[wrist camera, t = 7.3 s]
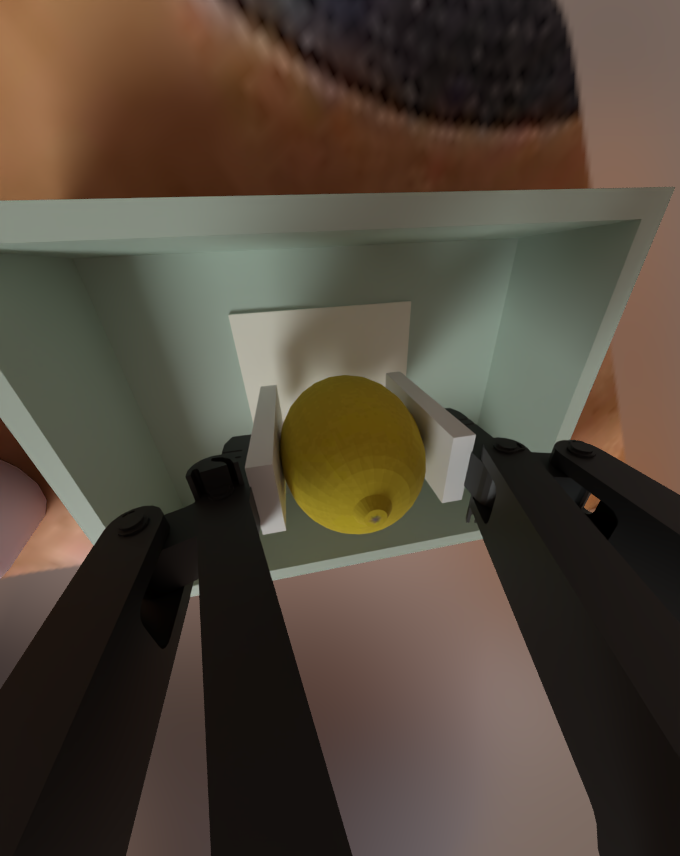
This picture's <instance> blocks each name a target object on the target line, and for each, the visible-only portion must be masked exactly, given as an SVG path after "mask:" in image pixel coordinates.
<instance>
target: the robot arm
mask: <svg viewBox="0 0 680 856" xmlns="http://www.w3.org/2000/svg"><path fill="white" fill-rule="evenodd" d="M385 387H386V388H387V389H388V390H390V391H391V392H392V393H394V394H395V395H396V396H397V397H398V398H399V399H400V400H401V401H402V402H403V404H404V405H405V406H406V408H407V409H408V410H409V412H410V413H411V415H412V416H413V418H414V419H415V421H416V424H417V426H418V429H419V432H420V435H421V438H422V441H423V444H424V448H425V455H426V473H425V479H426V481H427V482H428V484H429V485H430V487H431V488H432V490H433V491H434V492H435V494H436V495H437V497H438V498H439V500H440V501H441V502H442V503H446V502H452V501H458V500H462V496H463V492H464V487H465V488H466V489H467V490H468V491H469V492H470V493H471V497H470V502H469V506H468V510H467V514H466V523H469V522H470V519H471V515H472V514H473V516H474V518H475V520H474V523H477V525H478V528H479V530H480V533H481V535H482V538H483V540H484V543H485V545H486V547H487V550H488V552H489V555H490V557H491V559H492V562H493V565H494V567H495V569H496V572H497V574H498V577H499V579H500V581H501V584H502V586H503V589H504V591H505V594H506V596H507V599H508V601H509V604H510V606H511V608H512V611H513V613H514V616H515V618H516V621H517V623H518V625H519V628H520V630H521V633H522V635H523V638H524V640H525V643H526V645H527V647H528V650H529V652H530V655H531V657H532V660H533V662H534V665H535V667H536V669H537V672H538V674H539V677H540V679H541V682H542V684H543V687H544V689H545V692H546V694H547V696H548V699H549V701H550V704H551V706H552V709H553V711H554V714H555V716H556V718H557V721H558V723H559V726H560V728H561V731H562V733H563V736H564V738H565V740H566V743H567V745H568V748H569V750H570V752H571V755H572V758H573V760H574V762H575V765H576V767H577V770H578V772H579V775H580V777H581V780H582V782H583V784H584V787H585V789H586V792H587V794H588V797H589V799H590V802H591V805H592V808H593V811H594V815H595V819H596V823H597V839H598V851H599V855H600V856H680V495H679V494H677V493H675V492H674V491H672V490H670V489H668V488H667V487H665V486H663V485H662V484H660V483H658V482H656V481H655V480H653V479H651V478H649V477H648V476H646V475H644V474H642V473H641V472H639V471H637V470H635V469H634V468H632V467H630V466H629V465H627V464H625V463H623V462H622V461H620V460H618V459H617V458H615V457H613V456H611V455H610V454H608V453H606V452H604V451H603V450H601V449H599V448H597V447H595V446H593V445H590V444H587V443H584V442H582V441H578V440H577V441H576V440H561V441H558V442H556V443H555V445H554V447H553V449H552V452H551V453H540V452H531V451H530V450H529V449H528V448H527V447H526V446H524V445H523V444H522V443H519V442H517V441H515V440H511V439H508V438H500V437H496V438H493V437H492V436H491V435H489V434H488V433H487V432H486V431H484V430H483V429H482V428H480V427H479V426H478V425H477V424H474V422H473V421H471V420H470V419H468V417H466V416H465V415H464V414H462V413H461V412H459V411H457V410H454V409H452V408H443V407H442V406H441V405H440V404H439V403H437V402H436V401H435V400H434V399H433V398H431V397H430V396H429V395H428V394H427V393H425V392H424V391H423V390H422V389H421V388H419V387H418V386H417V385H416V384H415V383H413V382H412V381H411V380H410V379H409V378H407V377H406V376H405V375H404V374H403V373H401V372H390V373H386V385H385ZM282 426H283V419H282V413H281V408H280V402H279V396H278V390H277V385H270V386H261V388H260V393H259V398H258V403H257V408H256V413H255V418H254V423H253V428H252V433H251V434H250V435H242V436H234V437H232V438H231V439H230V440H228V441H227V442H226V443H225V444H224V447H223V450H222V454H221V455H215V456H210V457H208V458H205V459H202V460H200V461H199V462H197V463H195V464H194V465H192V466H191V467H190V469H189V470H188V471H187V473H186V476H185V477H186V480H187V482H188V485H189V487H190V489H191V492H192V494H193V497H194V499H195V502H194V503H192V504H191V505H188V506H186V507H184V508H181V509H179V510H176V511H173V512H171V513H168V514H165V515H164V513H163V512H162V510H161V509H160V508H159V507H156V506H153V505H151V506H141V507H138V508H135V509H132V510H130V511H128V512H125V513H124V514H121V515H120V516H119V517H117V518H116V519H115V520H113V521H112V522H111V523H110V524H109V525H108V526H107V527H106V528H105V529H104V531H103V532H102V534H101V535H100V537H99V538H98V540H97V542H96V543H95V545H94V546H93V548H92V549H91V551H90V552H89V554H88V555H87V557H86V558H85V560H84V562H83V563H82V565H81V566H80V568H79V569H78V571H77V572H76V574H75V575H74V577H73V578H72V580H71V581H70V583H69V585H68V586H67V588H66V589H65V591H64V592H63V594H62V595H61V597H60V598H59V600H58V601H57V603H56V605H55V606H54V608H53V609H52V611H51V612H50V614H49V615H48V617H47V618H46V620H45V621H44V623H43V625H42V626H41V628H40V629H39V631H38V632H37V634H36V635H35V637H34V639H33V640H32V642H31V643H30V645H29V646H28V648H27V649H26V651H25V652H24V654H23V655H22V657H21V659H20V660H19V661H18V663H17V665H16V666H15V668H14V669H13V671H12V672H11V674H10V675H9V677H8V678H7V680H6V681H5V683H4V684H3V686H2V688H1V689H0V856H126V853H127V849H128V845H129V841H130V837H131V833H132V828H133V825H134V821H135V817H136V812H137V809H138V805H139V801H140V797H141V792H142V788H143V784H144V780H145V776H146V772H147V768H148V764H149V760H150V756H151V752H152V748H153V744H154V740H155V736H156V732H157V728H158V724H159V720H160V716H161V712H162V708H163V704H164V699H165V696H166V692H167V688H168V684H169V680H170V676H171V671H172V668H173V663H174V660H175V655H176V651H177V647H178V643H179V639H180V635H181V631H182V627H183V623H184V619H185V615H186V611H187V607H188V603H189V599H190V595H191V591H192V587H193V583H194V581H195V580H198V579H199V598H200V620H201V642H202V663H203V664H202V665H203V684H204V685H203V687H204V709H205V729H206V753H207V774H208V797H209V818H210V841H211V856H352V853H351V849H350V846H349V842H348V840H347V836H346V832H345V829H344V826H343V822H342V819H341V815H340V812H339V808H338V805H337V801H336V798H335V794H334V791H333V787H332V784H331V781H330V777H329V774H328V771H327V767H326V763H325V760H324V756H323V753H322V750H321V747H320V743H319V739H318V736H317V732H316V729H315V726H314V722H313V719H312V715H311V712H310V708H309V705H308V701H307V698H306V695H305V691H304V688H303V684H302V681H301V677H300V674H299V671H298V667H297V664H296V660H295V657H294V653H293V650H292V646H291V643H290V640H289V636H288V633H287V629H286V626H285V622H284V619H283V615H282V612H281V608H280V605H279V602H278V599H277V595H276V591H275V588H274V585H273V581H272V577H271V574H270V571H269V567H268V564H267V560H266V557H265V553H264V550H263V547H262V543H261V540H260V536H259V532H260V526H261V530H262V534H263V535H265V534H270V533H276V532H282V531H286V480H285V477H284V474H283V469H282V463H281V457H280V439H281V431H282ZM590 494H593V495H594V496H595V497H597V498H598V499H600V500H601V501H600V502H599V504H598V506H597V508H596V510H595V511H594V512H593V513H592V512H589V511H588V510H586V509H585V508H584V506H585V504H586V502H587V500H588V498H589V496H590Z"/></svg>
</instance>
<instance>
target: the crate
mask: <svg viewBox="0 0 680 856" xmlns="http://www.w3.org/2000/svg"><path fill="white" fill-rule="evenodd" d="M674 189H675V187H649V188H648V187H646V188H601V189H599V188H597V189H549V190H500V191H452V192H403V193H355V194H306V195H258V196H209V197H161V198H112V199H64V200H15V201H0V418H1V419H2V421H3V422H4V423H5V425H6V426H7V427H8V429H9V430H10V432H11V433H12V434H13V436H14V437H15V438H16V440H17V441H18V442H19V444H20V445H21V447H22V448H23V449H24V451H25V452H26V453H27V455H28V456H29V458H30V459H31V460H32V462H33V463H34V464H35V466H36V467H37V469H38V470H39V471H40V473H41V474H42V475H43V477H44V478H45V480H46V481H47V482H48V484H49V485H50V486H51V488H52V489H53V491H54V492H55V493H56V495H57V496H58V497H59V499H60V500H61V501H62V503H63V504H64V506H65V507H66V508H67V510H68V511H69V512H70V514H71V515H72V517H73V518H74V519H75V521H76V522H77V523H78V525H79V526H80V528H81V529H82V530H83V532H84V533H85V534H86V536H87V537H88V539H89V540H90V541H91V543H92V544H93V545H95V543H96V542H97V540H98V538H99V537H100V535H101V534H102V532H103V531H104V529H105V528H106V527H107V526H108V525H109V524H110V523H111V522H112V521H113V520H115V519H116V518H117V517H119V516H120V515H121V514H124V513H125V512H128V511H130V510H132V509H135V508H138V507H141V506H151V505H153V506H156V507H159V508H160V509H161V510H162V512H163V513H164V515H165V514H168V513H171V512H173V511H176V510H179V509H181V508H184V507H186V506H188V505H191V504H192V503H194V502H195V499H194V497H193V494H192V492H191V489H190V487H189V485H188V482H187V480H186V477H185V476H186V473H187V471H188V470H189V469H190V467H191V466H192V465H194V464H195V463H197V462H199V461H200V460H202V459H205V458H208V457H210V456H215V455H221V454H222V450H223V447H224V444H225V443H226V442H227V441H228V440H230V439H231V438H232V437H234V436H242V435H250V434H251V433H252V428H253V423H254V418H255V413H256V408H257V403H258V398H259V393H260V388H261V386H270V385H277V390H278V396H279V402H280V408H281V413H282V419H283V422H284V420H285V418H286V416H287V414H288V411H289V409H290V407H291V405H292V404H293V403H294V402H295V401H296V399H297V398H298V397H299V396H300V395H301V393H302V392H303V391H305V390H306V389H307V388H309V387H310V386H312V385H313V384H314V383H316V382H319V381H321V380H324V379H326V378H328V377H334V376H341V375H351V376H361V377H365V378H367V379H370V380H372V381H375V382H378V383H380V384H381V385H383V386H384V387H385V385H386V373H390V372H401V373H403V374H404V375H405V376H406V377H407V378H409V379H410V380H411V381H412V382H413V383H415V384H416V385H417V386H418V387H419V388H421V389H422V390H423V391H424V392H425V393H427V394H428V395H429V396H430V397H431V398H433V399H434V400H435V401H436V402H437V403H439V404H440V405H441V406H442V407H443V408H452V409H454V410H457V411H459V412H461V413H462V414H464V415H465V416H466V417H468V419H470V420H471V421H473V422H474V424H477V425H478V426H479V427H480V428H482V429H483V430H484V431H486V432H487V433H488V434H489V435H491V436H492V437H493V438H496V437H500V438H508V439H511V440H515V441H517V442H519V443H522V444H523V445H524V446H526V447H527V448H528V449H529V450H530V451H531V452H540V453H551V452H552V449H553V447H554V445H555V443H556V442H558V441H561V440H570V438H571V436H572V433H573V431H574V429H575V426H576V424H577V421H578V419H579V417H580V414H581V412H582V409H583V407H584V405H585V402H586V400H587V397H588V395H589V393H590V390H591V388H592V385H593V383H594V381H595V378H596V376H597V373H598V371H599V369H600V366H601V364H602V361H603V359H604V357H605V354H606V352H607V349H608V347H609V345H610V342H611V340H612V337H613V335H614V332H615V330H616V328H617V326H618V323H619V321H620V318H621V316H622V313H623V311H624V309H625V306H626V304H627V302H628V299H629V297H630V294H631V292H632V289H633V287H634V285H635V282H636V280H637V278H638V275H639V273H640V270H641V268H642V266H643V263H644V261H645V258H646V256H647V254H648V251H649V249H650V246H651V244H652V242H653V239H654V237H655V234H656V232H657V230H658V227H659V225H660V222H661V220H662V218H663V215H664V213H665V210H666V208H667V206H668V203H669V201H670V198H671V196H672V194H673V191H674ZM470 497H471V493H470V492H469V491H468V490H467V489H466V488H465V487H464V492H463V496H462V500H458V501H452V502H446V503H442V502H441V501H440V500H439V498H438V497H437V495H436V494H435V492H434V491H433V490H432V488H431V487H430V485H429V484H428V482H427V481H426V479H425V478H424V482H423V485H422V489H421V492H420V493H419V495H418V497H417V499H416V500H415V502H414V504H413V506H412V507H411V508H410V509H409V510H408V511H407V512H406V513H405V515H404V516H403V517H401V518H400V519H399V520H398V521H396V522H395V523H393V524H392V525H390V526H388V527H386V528H384V529H382V530H379V531H376V532H372V533H367V534H345V533H340V532H337V531H333V530H330V529H328V528H326V527H324V526H322V525H320V524H319V523H317V522H315V521H314V520H313V519H311V518H310V517H309V516H308V515H307V514H306V513H305V512H304V511H303V510H302V509H301V508H300V506H299V505H298V504H297V502H296V501H295V499H294V497H293V495H292V493H291V491H290V489H289V487H288V485H287V483H286V531H282V532H276V533H270V534H265V535H263V534H262V530H261V526H260V532H259V536H260V540H261V543H262V547H263V550H264V553H265V557H266V560H267V564H268V567H269V571H270V574H271V577H272V581H273V580H278V579H283V578H288V577H293V576H298V575H303V574H307V573H313V572H318V571H323V570H328V569H333V568H338V567H344V566H348V565H354V564H359V563H363V562H369V561H374V560H379V559H384V558H389V557H394V556H399V555H404V554H409V553H414V552H419V551H424V550H429V549H434V548H439V547H444V546H449V545H454V544H460V543H464V542H470V541H475V540H480V539H483V538H482V535H481V533H480V530H479V528H478V525H477V523H474V520H475V518H474V516H473V514H472V515H471V519H470V522H469V523H466V514H467V510H468V506H469V502H470ZM197 595H199V579H198V580H195V581H194V583H193V587H192V591H191V595H190V597H192V596H197Z"/></svg>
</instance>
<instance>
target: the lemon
mask: <svg viewBox="0 0 680 856" xmlns="http://www.w3.org/2000/svg"><path fill="white" fill-rule="evenodd" d="M280 457H281V463H282V469H283V474H284V477H285V480H286V483H287V485H288V487H289V489H290V491H291V493H292V495H293V497H294V499H295V501H296V502H297V504H298V505H299V506H300V508H301V509H302V510H303V511H304V512H305V513H306V514H307V515H308V516H309V517H310V518H311V519H313V520H314V521H315V522H317V523H319V524H320V525H322V526H324V527H326V528H328V529H330V530H333V531H337V532H340V533H345V534H367V533H372V532H376V531H379V530H382V529H384V528H386V527H388V526H390V525H392V524H393V523H395V522H396V521H398V520H399V519H400V518H401V517H403V516H404V515H405V513H406V512H407V511H408V510H409V509H410V508H411V507H412V506H413V504H414V502H415V500H416V499H417V497H418V495H419V493H420V492H421V489H422V485H423V482H424V478H425V473H426V455H425V448H424V444H423V441H422V438H421V435H420V432H419V429H418V426H417V424H416V421H415V419H414V418H413V416H412V415H411V413H410V412H409V410H408V409H407V408H406V406H405V405H404V404H403V402H402V401H401V400H400V399H399V398H398V397H397V396H396V395H395V394H394V393H392V392H391V391H390V390H388V389H387V388H386V387H384V386H383V385H381V384H380V383H378V382H375V381H372V380H370V379H367V378H365V377H361V376H351V375H341V376H334V377H328V378H326V379H324V380H321V381H319V382H316V383H314V384H313V385H312V386H310V387H309V388H307V389H306V390H305V391H303V392H302V393H301V395H300V396H299V397H298V398H297V399H296V401H295V402H294V403H293V404H292V405H291V407H290V409H289V411H288V414H287V416H286V418H285V420H284V422H283V426H282V431H281V439H280Z"/></svg>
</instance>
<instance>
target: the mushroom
mask: <svg viewBox="0 0 680 856" xmlns="http://www.w3.org/2000/svg"><path fill="white" fill-rule="evenodd" d="M46 502H47V500H46V498H45V496H44V494H43V492H42V491H41V489H40V487H39V485H38V484H37V483H36V482H35V481H34V480H33V479H31V478H30V477H29V476H28V475H26V474H25V473H24V472H23V471H22V470H20V469H19V468H18V467H15V466H13V465H11V464H9V463H7V462H5V461H2V460H0V578H1V577H2V576H3V575H4V574H5V573H6V572H7V571H8V570H9V569H10V567H11V566H12V564H13V563H14V561H15V560H16V558H17V557H18V555H19V554H20V552H21V551H22V549H23V548H24V546H25V545H26V543H27V542H28V540H29V539H30V537H31V536H32V534H33V533H34V531H35V530H36V528H37V527H38V525H39V524H40V522H41V521H42V519H43V518H44V516H45V514H46Z"/></svg>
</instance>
